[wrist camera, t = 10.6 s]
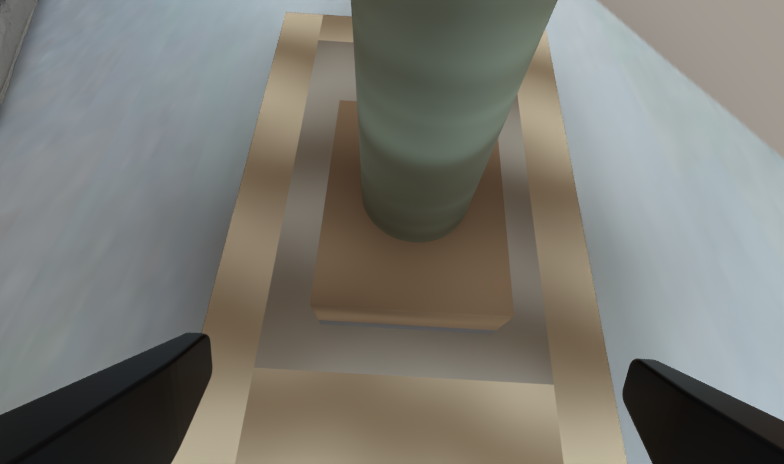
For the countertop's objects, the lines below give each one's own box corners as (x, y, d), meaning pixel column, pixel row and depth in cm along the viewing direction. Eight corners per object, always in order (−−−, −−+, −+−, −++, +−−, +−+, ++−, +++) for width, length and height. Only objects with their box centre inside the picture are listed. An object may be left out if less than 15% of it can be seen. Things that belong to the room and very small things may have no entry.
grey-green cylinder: (491, 333, 14) (789, 103, 4) (320, 324, 14) (178, 64, 4) (480, 150, 17) (620, -213, 7) (344, 142, 17) (302, -238, 7)
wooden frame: (621, 527, 12) (640, 536, 11) (170, 504, 12) (154, 510, 11) (538, 46, 22) (545, 30, 21) (289, 28, 22) (285, 11, 21)
